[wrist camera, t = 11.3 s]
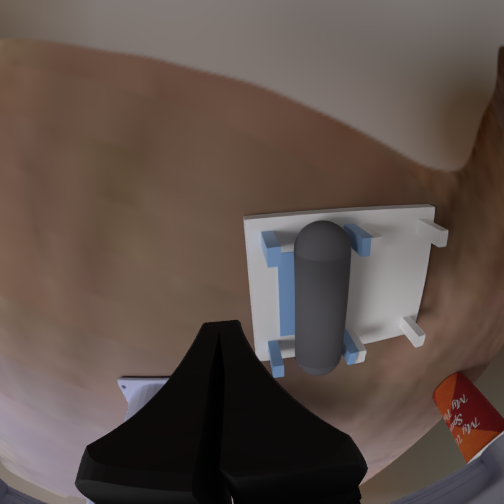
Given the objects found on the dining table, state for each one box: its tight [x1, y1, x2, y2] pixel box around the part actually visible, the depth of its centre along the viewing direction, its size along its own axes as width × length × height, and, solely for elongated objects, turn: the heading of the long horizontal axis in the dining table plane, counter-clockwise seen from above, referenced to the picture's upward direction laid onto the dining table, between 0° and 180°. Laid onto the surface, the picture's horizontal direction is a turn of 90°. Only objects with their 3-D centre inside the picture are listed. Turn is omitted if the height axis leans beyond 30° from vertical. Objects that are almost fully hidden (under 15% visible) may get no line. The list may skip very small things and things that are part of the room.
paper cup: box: [433, 372, 504, 464], centre depth 24 cm, size 8×8×14 cm
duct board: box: [243, 204, 448, 378], centre depth 20 cm, size 12×15×4 cm
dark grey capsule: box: [294, 220, 351, 376], centre depth 19 cm, size 12×4×4 cm, turn 5°
